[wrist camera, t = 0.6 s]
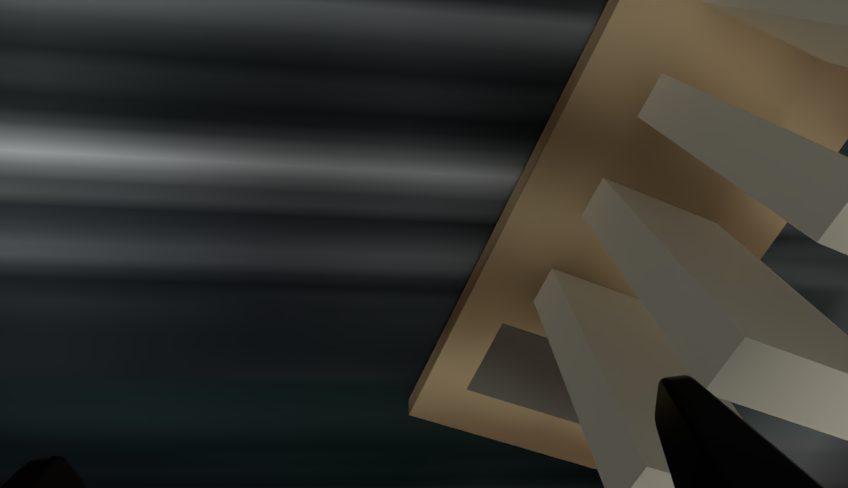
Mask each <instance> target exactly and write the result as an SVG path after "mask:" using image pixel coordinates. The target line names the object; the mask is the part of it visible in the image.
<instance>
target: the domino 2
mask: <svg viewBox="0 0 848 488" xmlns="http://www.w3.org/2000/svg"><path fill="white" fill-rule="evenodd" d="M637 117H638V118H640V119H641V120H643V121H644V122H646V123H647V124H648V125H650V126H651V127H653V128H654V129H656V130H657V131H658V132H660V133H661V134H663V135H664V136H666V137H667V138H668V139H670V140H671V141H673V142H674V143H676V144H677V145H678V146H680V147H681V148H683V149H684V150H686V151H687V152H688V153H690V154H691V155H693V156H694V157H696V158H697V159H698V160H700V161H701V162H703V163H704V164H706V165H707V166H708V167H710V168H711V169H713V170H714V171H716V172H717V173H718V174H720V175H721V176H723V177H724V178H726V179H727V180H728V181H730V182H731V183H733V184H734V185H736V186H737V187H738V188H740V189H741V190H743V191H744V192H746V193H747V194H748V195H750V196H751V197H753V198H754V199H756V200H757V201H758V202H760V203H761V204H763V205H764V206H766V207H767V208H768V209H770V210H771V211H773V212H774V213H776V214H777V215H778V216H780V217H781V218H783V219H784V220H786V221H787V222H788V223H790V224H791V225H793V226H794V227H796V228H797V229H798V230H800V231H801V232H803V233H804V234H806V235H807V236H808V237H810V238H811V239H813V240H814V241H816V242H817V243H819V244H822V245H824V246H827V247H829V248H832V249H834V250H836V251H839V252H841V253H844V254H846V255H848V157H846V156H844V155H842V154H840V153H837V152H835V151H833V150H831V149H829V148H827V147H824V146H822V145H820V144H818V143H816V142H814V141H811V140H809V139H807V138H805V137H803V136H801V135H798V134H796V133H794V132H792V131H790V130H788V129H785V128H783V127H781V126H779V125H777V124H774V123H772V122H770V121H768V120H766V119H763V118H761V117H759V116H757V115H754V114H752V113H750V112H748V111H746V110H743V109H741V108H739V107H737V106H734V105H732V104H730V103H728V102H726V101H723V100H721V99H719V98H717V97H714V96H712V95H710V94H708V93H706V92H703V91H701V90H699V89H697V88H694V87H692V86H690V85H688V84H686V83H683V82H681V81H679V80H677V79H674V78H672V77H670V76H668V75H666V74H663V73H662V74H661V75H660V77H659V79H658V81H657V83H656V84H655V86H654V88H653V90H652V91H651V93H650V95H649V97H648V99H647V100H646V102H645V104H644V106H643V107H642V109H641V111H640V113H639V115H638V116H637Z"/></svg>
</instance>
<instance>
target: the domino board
mask: <svg viewBox="0 0 848 488" xmlns="http://www.w3.org/2000/svg"><path fill="white" fill-rule="evenodd" d="M702 1H703V0H609V1H608V3H607V5H606V7H605V9H604V11H603V13H602V15H601V17H600V19H599V20H598V22H597V24H596V26H595V28H594V30H593V32H592V34H591V36H590V38H589V40H588V42H587V44H586V46H585V48H584V50H583V52H582V54H581V56H580V58H579V60H578V62H577V64H576V66H575V68H574V70H573V72H572V74H571V76H570V78H569V80H568V82H567V84H566V86H565V88H564V90H563V92H562V94H561V96H560V98H559V100H558V102H557V104H556V106H555V108H554V110H553V112H552V114H551V116H550V118H549V120H548V122H547V124H546V126H545V128H544V130H543V132H542V134H541V136H540V138H539V140H538V142H537V144H536V146H535V148H534V150H533V152H532V154H531V156H530V158H529V160H528V162H527V164H526V166H525V168H524V170H523V172H522V174H521V176H520V178H519V180H518V182H517V184H516V186H515V188H514V190H513V192H512V194H511V196H510V198H509V200H508V202H507V204H506V206H505V208H504V210H503V212H502V214H501V216H500V218H499V220H498V222H497V224H496V226H495V228H494V230H493V232H492V234H491V236H490V238H489V240H488V242H487V244H486V246H485V248H484V250H483V252H482V254H481V256H480V258H479V260H478V262H477V264H476V266H475V268H474V270H473V272H472V274H471V276H470V278H469V280H468V282H467V284H466V286H465V288H464V290H463V292H462V294H461V296H460V298H459V300H458V302H457V304H456V306H455V308H454V310H453V312H452V314H451V316H450V318H449V320H448V322H447V324H446V326H445V328H444V330H443V332H442V334H441V336H440V338H439V340H438V342H437V344H436V346H435V348H434V350H433V352H432V354H431V356H430V358H429V360H428V362H427V364H426V366H425V368H424V370H423V372H422V374H421V376H420V378H419V380H418V382H417V384H416V386H415V388H414V390H413V392H412V394H411V396H410V398H409V415H411V416H414V417H418V418H421V419H425V420H428V421H432V422H435V423H439V424H442V425H446V426H449V427H452V428H456V429H459V430H463V431H466V432H470V433H473V434H477V435H480V436H483V437H487V438H490V439H494V440H497V441H501V442H504V443H508V444H511V445H514V446H518V447H521V448H525V449H528V450H532V451H535V452H539V453H542V454H546V455H549V456H552V457H556V458H559V459H563V460H566V461H570V462H573V463H577V464H580V465H583V466H587V467H590V468H594V469H597V467H596V464H595V461H594V459H593V456H592V453H591V451H590V448H589V446H588V443H587V440H586V438H585V435H584V432H583V430H582V427H581V425H580V422H579V419H578V417H577V414H576V411H575V409H574V406H573V404H572V401H571V398H570V396H569V393H568V390H567V388H566V385H565V383H564V380H563V377H562V375H561V372H560V369H559V367H558V364H557V361H556V359H555V356H554V354H553V351H552V348H551V346H550V343H549V340H548V338H547V335H546V333H545V330H544V327H543V325H542V322H541V319H540V317H539V314H538V312H537V309H536V306H535V304H534V299H535V298H536V296H537V294H538V292H539V291H540V289H541V287H542V285H543V283H544V282H545V280H546V278H547V276H548V275H549V273H550V271H551V269H552V268H553V269H556V270H558V271H561V272H564V273H567V274H569V275H572V276H575V277H578V278H581V279H583V280H586V281H589V282H592V283H595V284H597V285H600V286H603V287H606V288H608V289H611V290H614V291H617V292H620V293H622V294H625V295H628V296H631V297H633V298H636V299H639V298H638V297H637V295H636V294H635V292H634V291H633V289H632V288H631V286H630V285H629V284H628V282H627V281H626V279H625V278H624V276H623V275H622V273H621V272H620V270H619V269H618V268H617V266H616V265H615V263H614V262H613V260H612V259H611V257H610V256H609V254H608V253H607V251H606V250H605V249H604V247H603V246H602V244H601V243H600V241H599V240H598V238H597V237H596V235H595V234H594V233H593V231H592V230H591V228H590V227H589V225H588V224H587V222H586V221H585V219H584V218H583V216H582V214H583V212H584V211H585V209H586V207H587V205H588V203H589V202H590V200H591V198H592V196H593V195H594V193H595V191H596V189H597V187H598V186H599V184H600V182H601V180H602V179H603V178H605V179H608V180H610V181H613V182H615V183H618V184H620V185H623V186H625V187H628V188H630V189H633V190H635V191H638V192H640V193H643V194H645V195H648V196H650V197H653V198H655V199H658V200H660V201H663V202H665V203H668V204H670V205H673V206H675V207H678V208H680V209H683V210H685V211H688V212H690V213H693V214H695V215H698V216H700V217H703V218H705V219H708V220H710V221H713V222H715V223H717V224H719V225H720V226H721V227H722V228H723V229H724V230H726V231H727V232H728V233H729V234H730V235H731V236H733V237H734V238H735V239H736V240H737V241H738V242H740V243H741V244H742V245H743V246H744V247H745V248H746V249H748V250H749V251H750V252H751V253H752V254H753V255H755V256H756V257H757V258H758V259H759V260H760V259H761V258H762V256H763V255H764V254H765V252H766V251H767V249H768V248H769V247H770V245H771V244H772V243H773V241H774V240H775V238H776V237H777V236H778V234H779V233H780V232H781V230H782V229H783V227H784V226H785V225H786V223H787V221H786V220H784V219H783V218H781V217H780V216H778V215H777V214H776V213H774V212H773V211H771V210H770V209H768V208H767V207H766V206H764V205H763V204H761V203H760V202H758V201H757V200H756V199H754V198H753V197H751V196H750V195H748V194H747V193H746V192H744V191H743V190H741V189H740V188H738V187H737V186H736V185H734V184H733V183H731V182H730V181H728V180H727V179H726V178H724V177H723V176H721V175H720V174H718V173H717V172H716V171H714V170H713V169H711V168H710V167H708V166H707V165H706V164H704V163H703V162H701V161H700V160H698V159H697V158H696V157H694V156H693V155H691V154H690V153H688V152H687V151H686V150H684V149H683V148H681V147H680V146H678V145H677V144H676V143H674V142H673V141H671V140H670V139H668V138H667V137H666V136H664V135H663V134H661V133H660V132H658V131H657V130H656V129H654V128H653V127H651V126H650V125H648V124H647V123H646V122H644V121H643V120H641V119H640V118H638V117H637V116H638V115H639V113H640V111H641V109H642V107H643V106H644V104H645V102H646V100H647V99H648V97H649V95H650V93H651V91H652V90H653V88H654V86H655V84H656V83H657V81H658V79H659V77H660V75H661V74H662V73H663V74H666V75H668V76H670V77H672V78H674V79H677V80H679V81H681V82H683V83H686V84H688V85H690V86H692V87H694V88H697V89H699V90H701V91H703V92H706V93H708V94H710V95H712V96H714V97H717V98H719V99H721V100H723V101H726V102H728V103H730V104H732V105H734V106H737V107H739V108H741V109H743V110H746V111H748V112H750V113H752V114H754V115H757V116H759V117H761V118H763V119H766V120H768V121H770V122H772V123H774V124H777V125H779V126H781V127H783V128H785V129H788V130H790V131H792V132H794V133H796V134H798V135H801V136H803V137H805V138H807V139H809V140H811V141H814V142H816V143H818V144H820V145H822V146H824V147H827V148H829V149H831V150H833V151H835V152H837V153H838V151H839V150H840V149H841V147H842V146H843V145H844V143H845V142H846V140H847V139H848V68H847V67H844V66H840V65H836V64H832V63H828V62H825V61H823V60H821V59H819V58H817V57H815V56H813V55H811V54H809V53H807V52H804V51H802V50H800V49H798V48H796V47H794V46H792V45H790V44H788V43H786V42H784V41H782V40H780V39H778V38H776V37H774V36H771V35H769V34H767V33H765V32H763V31H761V30H759V29H757V28H755V27H753V26H751V25H749V24H747V23H745V22H743V21H741V20H738V19H736V18H734V17H732V16H730V15H728V14H726V13H724V12H722V11H720V10H718V9H716V8H714V7H712V6H710V5H707V4H705V3H703V2H702ZM597 470H598V469H597Z"/></svg>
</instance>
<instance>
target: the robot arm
mask: <svg viewBox="0 0 848 488" xmlns="http://www.w3.org/2000/svg"><path fill="white" fill-rule="evenodd" d="M655 424H656V428H657V432H658V435H659V438H660V442H661V445H662V448H663V451H664V455H665V458H666V461H667V465H668V468H669V471H670V474H671V478H672V481H673V484H674V487H675V488H824V487H823V486H822V485H820V484H819V483H818V482H817V481H816V480H815V479H813V478H812V477H811V476H810V475H809V474H807V473H806V472H805V471H804V470H803V469H801V468H800V467H799V466H798V465H797V464H795V463H794V462H793V461H792V460H791V459H789V458H788V457H787V456H786V455H785V454H784V453H782V452H781V451H780V450H779V449H778V448H776V447H775V446H774V445H773V444H772V443H770V442H769V441H768V440H767V439H766V438H764V437H763V436H762V435H761V434H760V433H758V432H757V431H756V430H755V429H754V428H753V427H751V426H750V425H749V424H748V423H747V422H745V421H744V420H743V419H742V418H741V417H739V416H738V415H737V414H736V413H735V412H733V411H732V410H731V409H730V408H729V407H727V406H726V405H725V404H724V403H723V402H722V401H720V400H719V399H718V398H717V397H716V396H714V395H713V394H712V393H711V392H710V391H708V390H707V389H706V388H705V387H704V386H702V385H701V384H700V383H699V382H698V381H696V380H695V379H694V378H692V377H691V376H688V375H680V376H672V377H665V378H662V379H661V380H660V381H659V384H658V390H657V398H656V405H655ZM0 488H87V485H86V483H85V482H84V480H83V479H82V478H81V477H80V476H79V474H78V473H77V472H76V471H75V470H74V469H73V467H72V466H71V465H70V464H69V463H68V461H67V460H66V459H65V458H64V457H62V456H59V455H53V456H45V457H38V458H34V459H31V460H30V461H28V462H27V463H26V464H24V465H23V466H22V467H21V468H20V469H19V470H18V471H17V472H16V473H15V474H13V475H12V476H11V477H10V478H9V479H8V480H7V481H6V482H5V483H4V484H3V485H2V486H0Z"/></svg>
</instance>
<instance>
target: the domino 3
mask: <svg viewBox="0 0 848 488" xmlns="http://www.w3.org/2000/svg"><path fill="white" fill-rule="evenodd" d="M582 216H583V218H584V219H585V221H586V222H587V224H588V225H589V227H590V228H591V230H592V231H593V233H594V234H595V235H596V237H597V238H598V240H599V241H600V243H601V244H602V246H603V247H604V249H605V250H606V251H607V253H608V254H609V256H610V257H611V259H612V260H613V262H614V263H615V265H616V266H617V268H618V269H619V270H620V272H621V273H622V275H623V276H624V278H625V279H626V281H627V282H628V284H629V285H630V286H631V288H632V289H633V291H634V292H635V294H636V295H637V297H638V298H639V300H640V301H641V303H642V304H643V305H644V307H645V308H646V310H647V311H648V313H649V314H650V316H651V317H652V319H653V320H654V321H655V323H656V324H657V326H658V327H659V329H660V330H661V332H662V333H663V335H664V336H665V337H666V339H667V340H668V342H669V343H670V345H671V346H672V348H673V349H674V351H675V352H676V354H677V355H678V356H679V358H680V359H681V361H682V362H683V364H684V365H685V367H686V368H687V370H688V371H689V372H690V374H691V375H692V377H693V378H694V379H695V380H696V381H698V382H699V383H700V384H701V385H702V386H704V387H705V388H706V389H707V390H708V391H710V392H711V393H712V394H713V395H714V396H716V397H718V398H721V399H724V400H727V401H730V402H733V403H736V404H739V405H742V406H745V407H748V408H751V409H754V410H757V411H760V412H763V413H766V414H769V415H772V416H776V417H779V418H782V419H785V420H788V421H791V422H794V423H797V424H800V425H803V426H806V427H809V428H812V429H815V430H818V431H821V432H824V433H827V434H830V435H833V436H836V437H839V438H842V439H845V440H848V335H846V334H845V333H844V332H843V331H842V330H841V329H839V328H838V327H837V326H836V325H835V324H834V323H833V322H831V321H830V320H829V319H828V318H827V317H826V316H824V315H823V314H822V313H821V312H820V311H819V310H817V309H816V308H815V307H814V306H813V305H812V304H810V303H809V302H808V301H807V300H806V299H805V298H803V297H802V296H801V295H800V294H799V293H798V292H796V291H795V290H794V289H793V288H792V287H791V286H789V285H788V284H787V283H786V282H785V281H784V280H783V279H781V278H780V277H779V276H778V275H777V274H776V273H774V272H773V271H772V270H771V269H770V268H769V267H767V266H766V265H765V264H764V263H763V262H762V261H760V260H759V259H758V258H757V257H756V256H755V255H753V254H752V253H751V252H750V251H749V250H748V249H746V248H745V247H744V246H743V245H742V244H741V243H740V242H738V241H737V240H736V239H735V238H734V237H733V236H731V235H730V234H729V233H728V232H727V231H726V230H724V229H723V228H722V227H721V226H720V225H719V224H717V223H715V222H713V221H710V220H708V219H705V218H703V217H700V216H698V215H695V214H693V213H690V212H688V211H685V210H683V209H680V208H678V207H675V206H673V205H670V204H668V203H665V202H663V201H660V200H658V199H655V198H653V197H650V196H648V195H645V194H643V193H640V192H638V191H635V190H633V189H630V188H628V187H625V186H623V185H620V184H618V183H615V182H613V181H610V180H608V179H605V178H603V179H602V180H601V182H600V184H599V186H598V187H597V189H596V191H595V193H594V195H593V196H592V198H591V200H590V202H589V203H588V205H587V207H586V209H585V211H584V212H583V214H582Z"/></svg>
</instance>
